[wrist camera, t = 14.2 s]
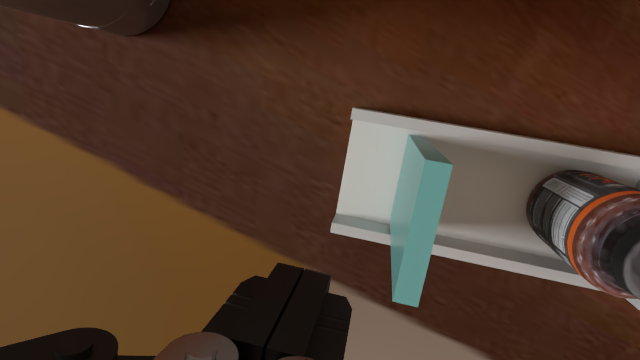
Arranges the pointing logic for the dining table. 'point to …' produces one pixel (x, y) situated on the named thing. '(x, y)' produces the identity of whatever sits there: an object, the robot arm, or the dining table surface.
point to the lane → (468, 189)
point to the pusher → (416, 216)
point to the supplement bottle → (591, 228)
